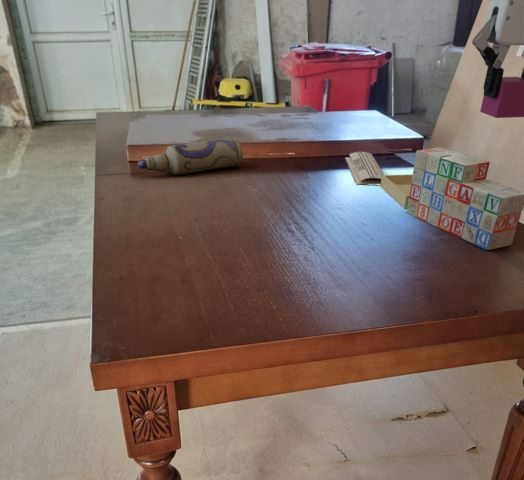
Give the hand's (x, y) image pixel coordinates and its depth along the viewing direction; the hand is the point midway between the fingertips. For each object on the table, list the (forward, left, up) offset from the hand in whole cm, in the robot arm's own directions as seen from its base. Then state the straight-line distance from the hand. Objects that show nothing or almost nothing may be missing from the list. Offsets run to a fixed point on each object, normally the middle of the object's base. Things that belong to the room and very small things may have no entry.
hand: (507, 94), depth 81 cm
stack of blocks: (0, -5, -24) cm, 24 cm away
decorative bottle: (+48, -49, -24) cm, 73 cm away
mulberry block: (0, 0, -3) cm, 3 cm away
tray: (0, -24, -24) cm, 34 cm away
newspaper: (+5, -45, -24) cm, 51 cm away
